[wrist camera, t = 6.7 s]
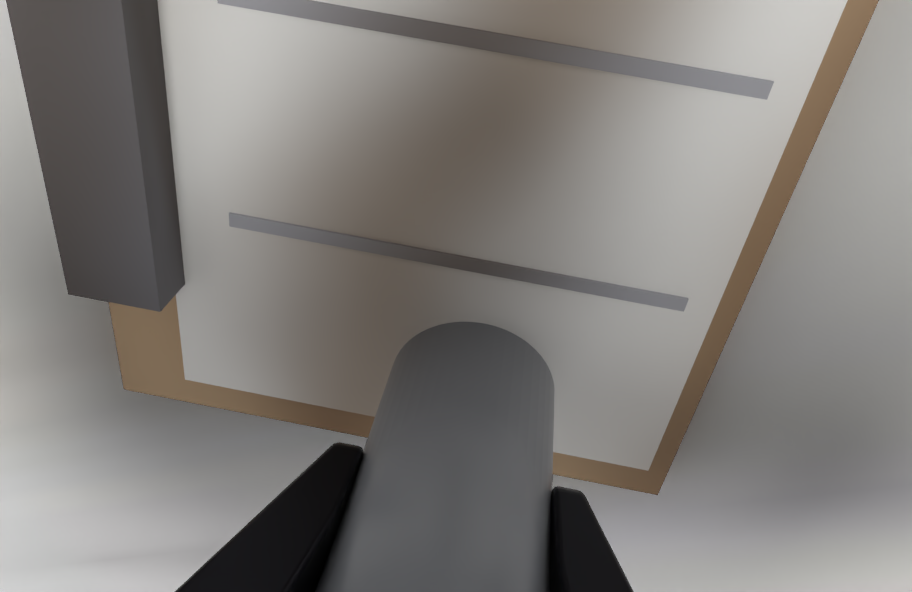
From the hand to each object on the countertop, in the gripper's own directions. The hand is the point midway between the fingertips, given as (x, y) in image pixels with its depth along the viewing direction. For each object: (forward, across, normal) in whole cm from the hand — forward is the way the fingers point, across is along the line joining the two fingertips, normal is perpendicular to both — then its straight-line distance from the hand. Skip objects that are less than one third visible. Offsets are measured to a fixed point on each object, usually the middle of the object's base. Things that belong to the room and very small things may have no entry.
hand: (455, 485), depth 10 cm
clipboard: (+4, +2, -3) cm, 5 cm away
